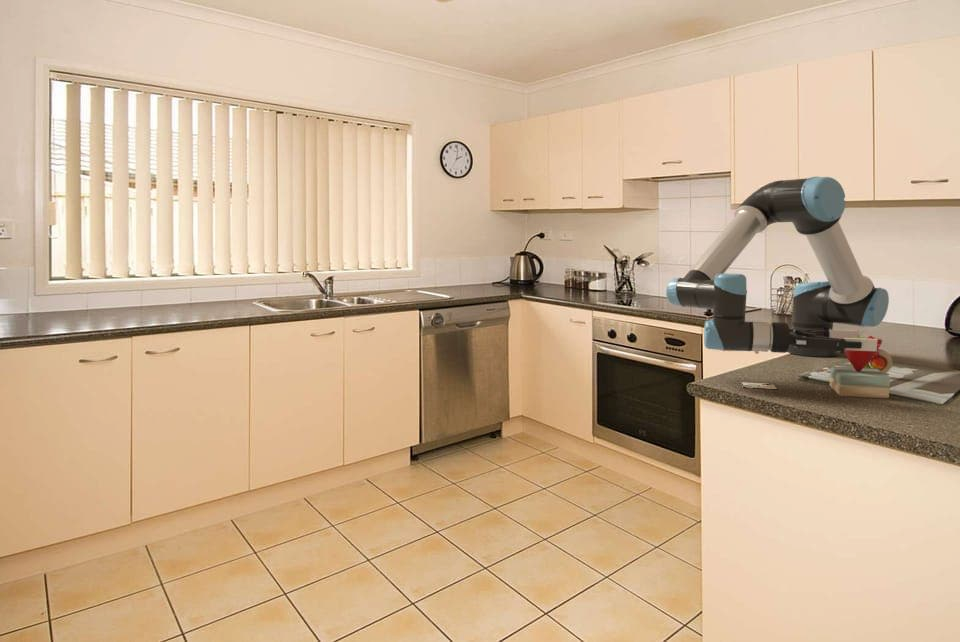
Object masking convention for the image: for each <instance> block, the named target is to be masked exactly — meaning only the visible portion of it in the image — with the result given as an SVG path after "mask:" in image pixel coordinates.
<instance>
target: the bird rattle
mask: <svg viewBox="0 0 960 642" xmlns="http://www.w3.org/2000/svg"><path fill="white" fill-rule="evenodd" d="M867 338H869V339H877V351H875V353H874V355H873V358H872V359H871V360H870V361H869V363H870V364H869V363H868V364H867V365H866V366H865V367H864V368H875V369H878V370H880V371H881V372H883V373H884V374H887V373H888V372H889V371H890V370H891V368H892V366H893V358H892V356H891V355H890V353H888V352H887V351H886V350H884V349H880V348H881V347H880V346H881V345H882V343H883V340H882V339H881V338H875V337H874V336H872V335H869V336H868V337H867ZM850 365H851V367H853V366H852V364H851V363H850Z"/></svg>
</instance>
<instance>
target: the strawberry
mask: <svg viewBox="0 0 960 642" xmlns="http://www.w3.org/2000/svg"><path fill="white" fill-rule="evenodd" d="M864 332H865V330H863V331H862V333H864ZM860 335H861V333H859V335H858V336H859V338H858V339H869V338H868V337H860ZM874 353H875V351H855V350H845V354H846V355H845V356H846V358H847V359H848V361H849V363H850V365H851V364H852V365H851V367H852V366H853V367H854V369H855V370H856V371H861V370H862V369H863V368H864V367H865V366H866V365H867V364H868V363H870V361H871V359H872V358H873V357H874V356H873V355H874Z"/></svg>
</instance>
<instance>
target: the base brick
mask: <svg viewBox="0 0 960 642" xmlns="http://www.w3.org/2000/svg"><path fill="white" fill-rule="evenodd" d="M829 375H830V377H829V387H830V386H831V387H830V388H831V389H832V390H833V391H835V392H836V394H838V395H839V396H841V397H842V396H843V397H857V398H858V397H859V398H872V399H873V398H876V399H889V397H890V386H891V376H889V375H887V373H885V374H884V373H883V372H881V371H880V370H878V369H875V368H873V367H871V368H863V369H862V370H861V371H856V370H855V369H854V367H852V366H851V367H848V366H830V374H829Z"/></svg>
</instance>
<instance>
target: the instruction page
mask: <svg viewBox="0 0 960 642" xmlns="http://www.w3.org/2000/svg"><path fill="white" fill-rule="evenodd" d="M741 383H742V384H743V385H748V386H752V387H758V385H760V386H761V387H763V386H764V385H762V384H764V383H760V382H746V381H745V382H740V384H741ZM742 384H741V385H742ZM765 386H767V385H765Z"/></svg>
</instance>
